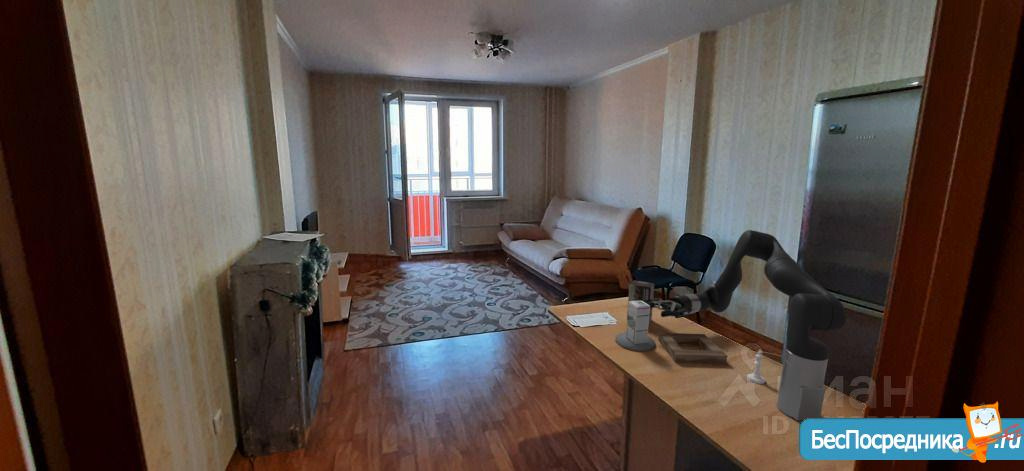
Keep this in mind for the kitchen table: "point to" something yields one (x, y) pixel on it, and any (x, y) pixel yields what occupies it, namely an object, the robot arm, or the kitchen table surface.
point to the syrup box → (638, 322)
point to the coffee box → (641, 293)
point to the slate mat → (627, 344)
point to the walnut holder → (706, 355)
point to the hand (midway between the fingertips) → (653, 310)
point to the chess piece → (757, 370)
